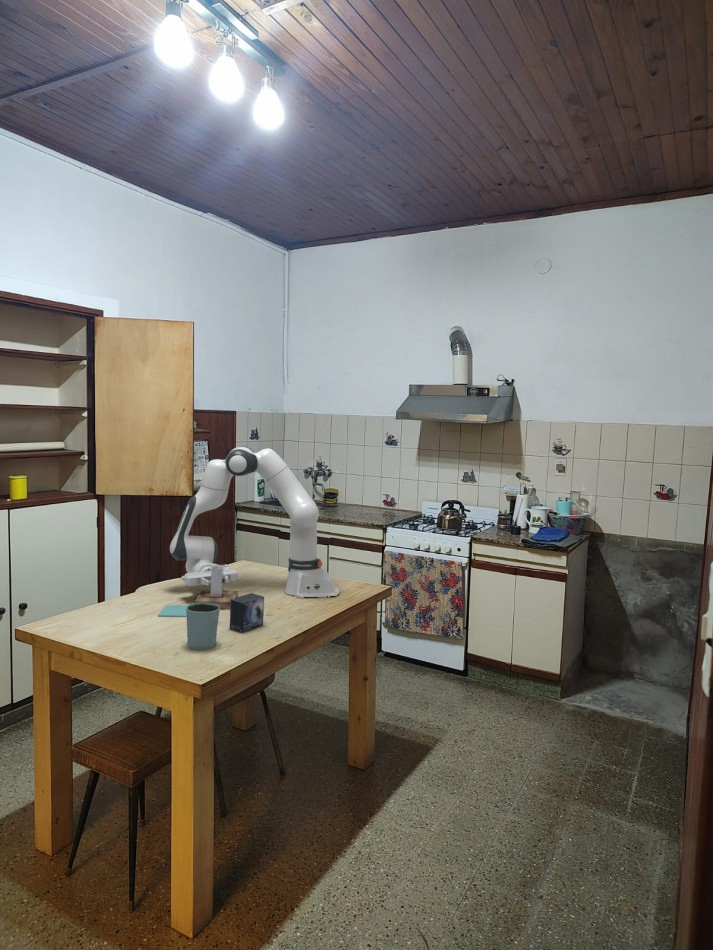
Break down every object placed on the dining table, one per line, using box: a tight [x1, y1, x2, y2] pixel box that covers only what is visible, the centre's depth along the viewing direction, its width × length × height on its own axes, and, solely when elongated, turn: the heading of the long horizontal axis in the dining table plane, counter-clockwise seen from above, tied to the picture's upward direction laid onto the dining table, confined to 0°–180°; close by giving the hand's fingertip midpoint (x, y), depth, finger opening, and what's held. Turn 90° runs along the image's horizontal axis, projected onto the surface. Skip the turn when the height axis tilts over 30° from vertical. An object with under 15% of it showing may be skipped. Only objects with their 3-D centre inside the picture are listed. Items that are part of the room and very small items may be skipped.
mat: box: [157, 604, 189, 618], centre depth 221 cm, size 12×12×1 cm
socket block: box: [194, 590, 239, 611], centre depth 232 cm, size 14×14×3 cm
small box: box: [228, 592, 265, 634], centre depth 207 cm, size 11×6×10 cm, turn 147°
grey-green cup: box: [185, 602, 221, 651], centre depth 190 cm, size 10×10×12 cm
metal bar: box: [210, 566, 224, 598], centre depth 231 cm, size 4×4×14 cm
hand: (218, 582), depth 230 cm, fingers closed on metal bar, 5 cm apart
